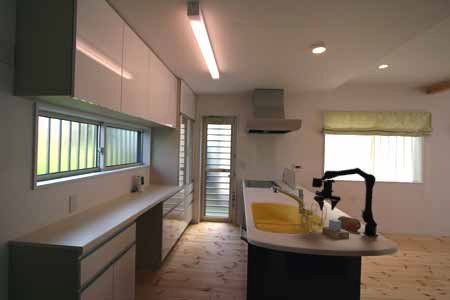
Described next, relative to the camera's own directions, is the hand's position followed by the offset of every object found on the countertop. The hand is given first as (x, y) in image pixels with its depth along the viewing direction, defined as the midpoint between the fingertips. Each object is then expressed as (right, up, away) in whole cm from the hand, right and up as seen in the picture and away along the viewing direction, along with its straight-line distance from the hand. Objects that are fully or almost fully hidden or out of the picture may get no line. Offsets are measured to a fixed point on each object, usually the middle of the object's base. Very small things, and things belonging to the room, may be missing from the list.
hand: (326, 210), depth 165 cm
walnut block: (-1, -12, -15) cm, 19 cm away
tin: (+15, -13, -1) cm, 20 cm away
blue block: (-1, -8, -15) cm, 17 cm away
